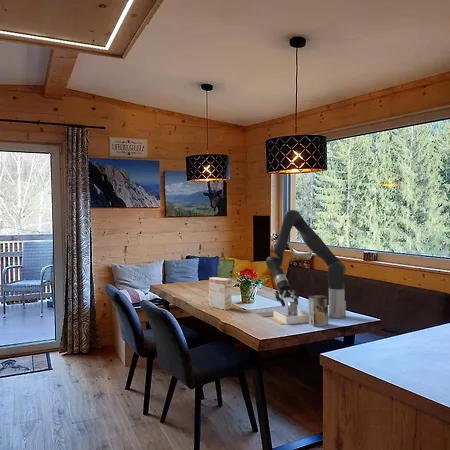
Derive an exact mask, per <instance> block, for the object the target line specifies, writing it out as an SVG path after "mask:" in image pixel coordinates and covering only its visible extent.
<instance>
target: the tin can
mask: <svg viewBox="0 0 450 450" xmlns="http://www.w3.org/2000/svg"><path fill="white" fill-rule="evenodd" d="M297 314H298V305H297V302H294V301H288V302H287V315H288V316H287V317H291V316H298V315H297Z"/></svg>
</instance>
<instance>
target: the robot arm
mask: <svg viewBox="0 0 450 450" xmlns="http://www.w3.org/2000/svg"><path fill="white" fill-rule="evenodd" d="M293 227H294V228H295V229H296V230H297V231H298V232H299V235H300V236H301V239H302V240H303V241H304V244H305V245H306V246H307V247H308V249H309V250H310V251H311V252H312V253H313V254H314V255H316V256H317V257H318V258H320V259H321V260H322V261H323V262H324V263H325V264H326V266H327V267H328V268H327V284H328V318H333V319H344V318H346V317H347V301H346V300H345V287H346V286H345V283H344V274H345V273H346V266H345V264H344V263H343V261H341V260H340V259H339V258H338V257H337V256H336V255H335V254H334V253H333V251H331V250H330V248H329V247H328V245H327V244H326V243H325V242H324V240H323V239H322V238H321V237H320V236H319V235H318V234H317V232H316V231H315V230H313V228H311V227H310V225H309V224H308V223H307V222H306V220H305V219H304V217H303V216H302V215H301V213H300V212H299V211H298V210H296V209H289V210H286V211H285V213H284V214H283V219H282V224H281V228H280V231H279V234H278V236H277V240H276V242H275V244H274V246H273V250H272V252H273V253H274V254H275V255H276V256H271V255H270V256H268V257H266V260H265V264H266V267H267V268H268V270H269V271H270V273H271V274H272V276H273V279H274V282H275V285H276V289H277V290H275V292H274V296H275V299H276V301H277V302H280V304H281V306H282V307H285V306H286V302H285V301H284V299H286V298H288V299H292V300H293V302H297V306H298V305H299V301H298V300H299V298H300V295H299V293H298V291H297V289H295V288H294V290H292V289H291V285H290V283H289V281H288V278H287V276H286V275H285V272H284V270H283V268H282V265H283V260H284V253H285V250H286V249H287V245H288V242H289V237H290V234H291V233H290V232H291V231H292V228H293Z"/></svg>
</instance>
